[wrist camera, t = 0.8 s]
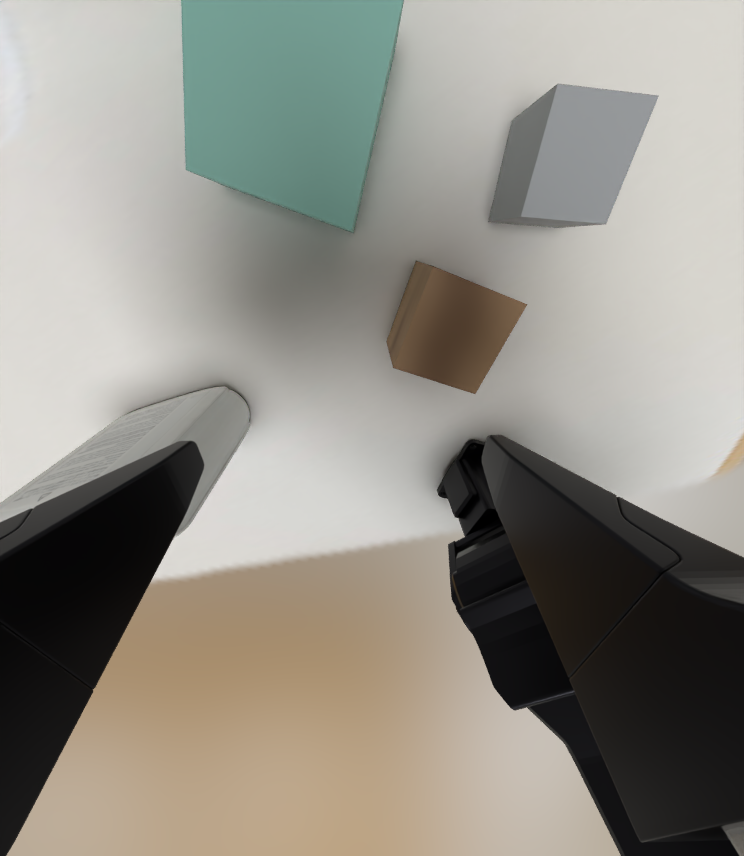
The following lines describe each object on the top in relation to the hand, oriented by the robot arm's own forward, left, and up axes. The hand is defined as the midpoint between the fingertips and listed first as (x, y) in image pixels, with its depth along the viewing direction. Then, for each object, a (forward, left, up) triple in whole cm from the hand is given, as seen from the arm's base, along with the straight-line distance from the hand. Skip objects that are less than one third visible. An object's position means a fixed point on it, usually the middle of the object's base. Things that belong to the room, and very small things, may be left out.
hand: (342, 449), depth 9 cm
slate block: (-7, -11, -12) cm, 18 cm away
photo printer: (+10, +10, -13) cm, 19 cm away
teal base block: (+5, -9, -13) cm, 16 cm away
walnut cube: (-5, -3, -12) cm, 14 cm away
